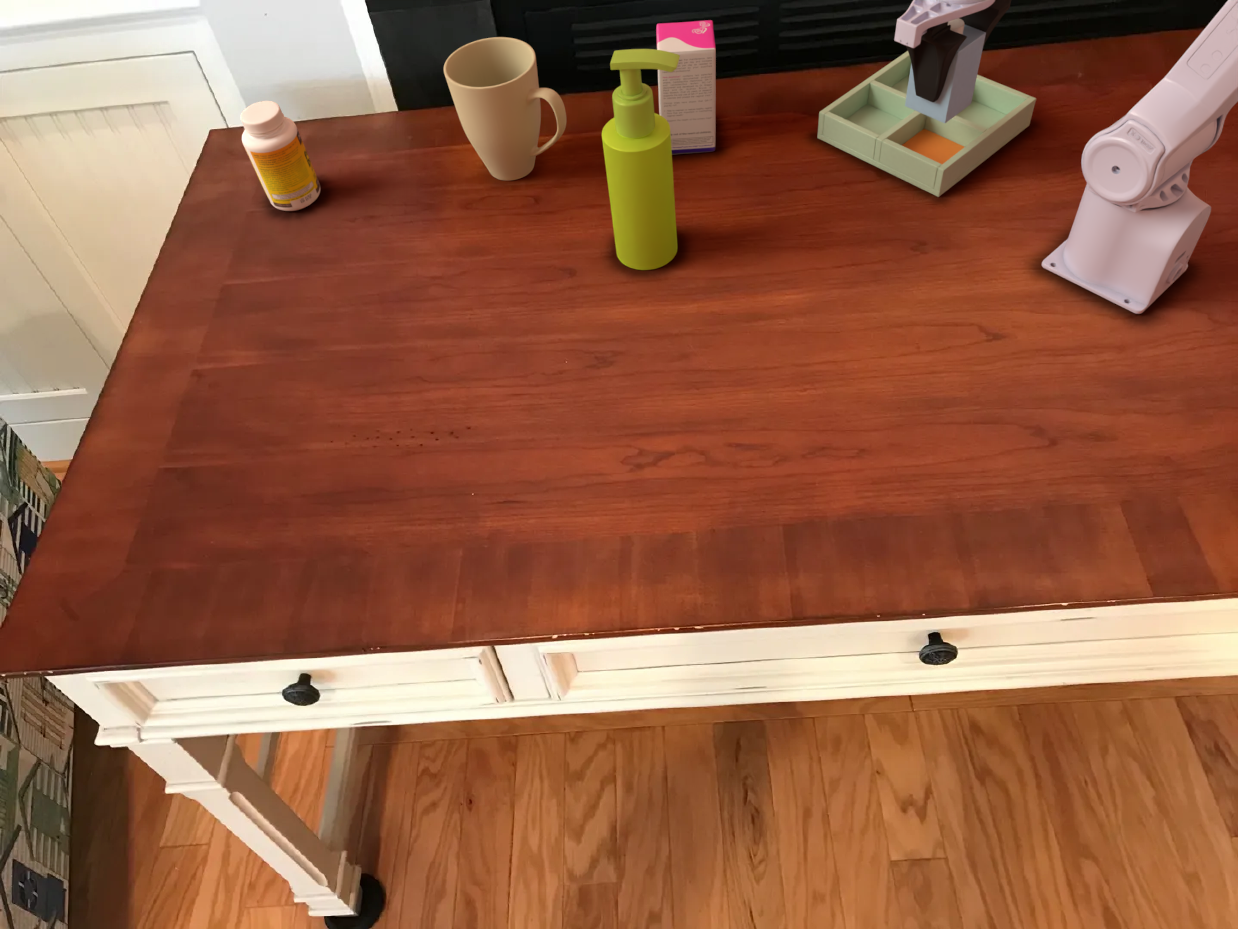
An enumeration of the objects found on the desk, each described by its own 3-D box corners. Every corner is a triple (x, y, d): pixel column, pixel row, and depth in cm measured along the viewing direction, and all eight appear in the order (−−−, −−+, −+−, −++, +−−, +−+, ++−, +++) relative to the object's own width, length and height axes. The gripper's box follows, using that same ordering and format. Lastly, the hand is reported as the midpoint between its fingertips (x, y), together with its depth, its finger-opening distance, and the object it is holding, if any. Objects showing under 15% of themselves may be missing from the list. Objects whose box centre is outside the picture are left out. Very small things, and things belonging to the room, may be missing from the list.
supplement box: (717, 152, 102) (715, 48, 93) (661, 156, 103) (653, 54, 94) (714, 119, 106) (712, 17, 97) (660, 123, 106) (652, 22, 97)
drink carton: (971, 103, 91) (988, 21, 85) (944, 123, 90) (960, 41, 83) (930, 86, 93) (944, 4, 87) (904, 105, 92) (916, 24, 86)
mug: (472, 205, 101) (445, 100, 91) (468, 148, 107) (442, 44, 97) (577, 187, 101) (561, 81, 91) (567, 132, 107) (550, 27, 98)
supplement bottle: (331, 196, 104) (297, 110, 96) (286, 220, 102) (247, 135, 94) (307, 173, 107) (271, 88, 99) (261, 197, 105) (222, 113, 97)
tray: (1029, 125, 100) (1036, 98, 98) (938, 197, 95) (943, 170, 92) (907, 73, 108) (911, 47, 105) (817, 137, 102) (818, 111, 100)
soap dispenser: (683, 272, 92) (672, 76, 76) (611, 268, 93) (585, 74, 77) (692, 231, 95) (683, 35, 79) (622, 228, 96) (600, 34, 80)
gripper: (981, -114, 84) (953, 37, 94) (873, -47, 78) (856, 105, 89) (1055, -93, 80) (1017, 62, 91) (947, -20, 75) (921, 134, 86)
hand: (942, 85), depth 90 cm, fingers closed on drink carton, 4 cm apart
